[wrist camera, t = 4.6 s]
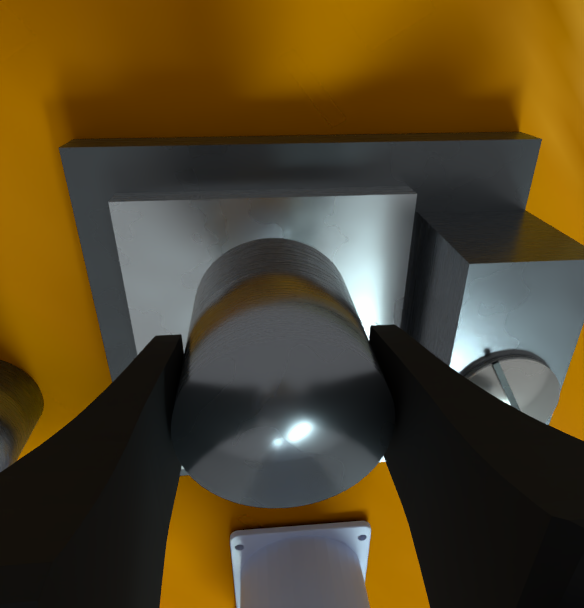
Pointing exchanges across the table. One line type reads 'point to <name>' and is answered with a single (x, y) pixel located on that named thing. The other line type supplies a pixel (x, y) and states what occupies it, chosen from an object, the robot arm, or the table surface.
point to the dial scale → (342, 241)
